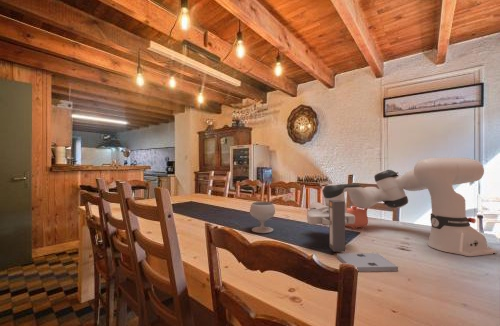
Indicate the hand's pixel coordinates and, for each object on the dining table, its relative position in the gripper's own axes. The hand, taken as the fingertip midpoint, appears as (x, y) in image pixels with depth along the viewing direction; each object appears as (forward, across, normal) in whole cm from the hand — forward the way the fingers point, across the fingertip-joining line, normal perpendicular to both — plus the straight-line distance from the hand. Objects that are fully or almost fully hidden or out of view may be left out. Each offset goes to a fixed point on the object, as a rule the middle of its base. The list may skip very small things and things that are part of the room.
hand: (337, 222), depth 93 cm
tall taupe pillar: (-1, 0, -11) cm, 11 cm away
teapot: (-39, -27, -13) cm, 49 cm away
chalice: (-34, +28, -13) cm, 46 cm away
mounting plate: (+10, -6, -12) cm, 17 cm away
